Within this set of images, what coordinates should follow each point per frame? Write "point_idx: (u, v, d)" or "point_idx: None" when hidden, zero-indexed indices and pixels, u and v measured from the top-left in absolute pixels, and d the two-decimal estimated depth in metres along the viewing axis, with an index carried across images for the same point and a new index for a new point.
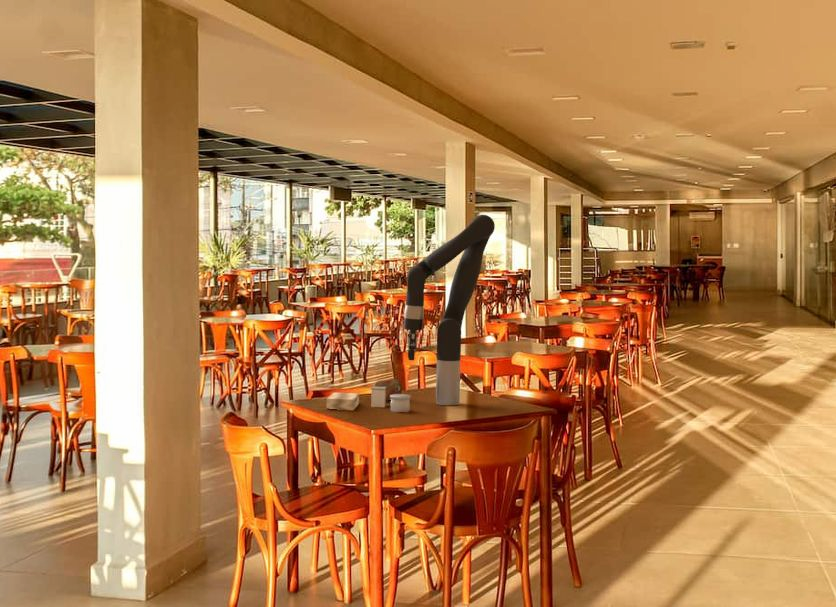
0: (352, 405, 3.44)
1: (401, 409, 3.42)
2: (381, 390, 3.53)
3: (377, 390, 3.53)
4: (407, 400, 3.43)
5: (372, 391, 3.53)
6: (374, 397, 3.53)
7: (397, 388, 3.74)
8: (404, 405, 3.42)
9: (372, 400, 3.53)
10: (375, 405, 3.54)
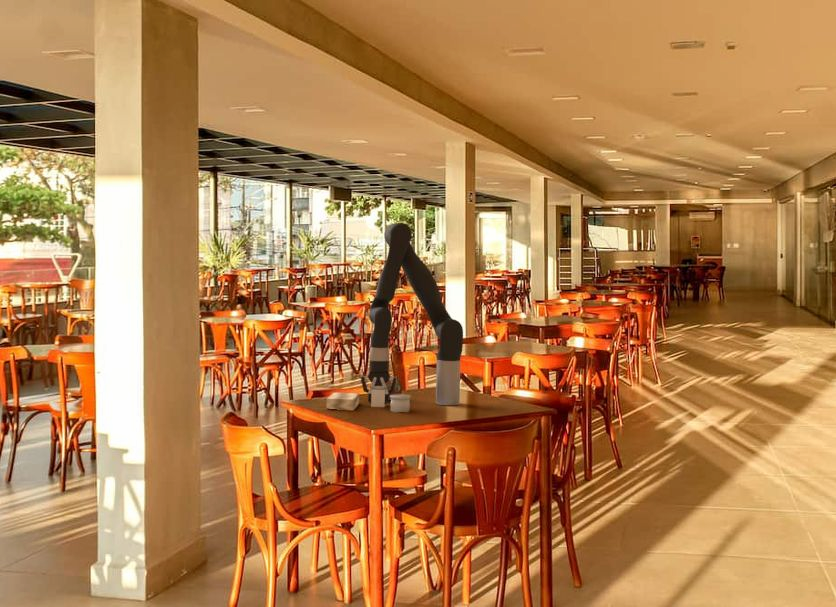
0: (352, 405, 3.44)
1: (401, 409, 3.42)
2: (381, 390, 3.53)
3: (377, 390, 3.53)
4: (407, 400, 3.43)
5: (372, 391, 3.53)
6: (374, 397, 3.53)
7: (397, 388, 3.74)
8: (404, 405, 3.42)
9: (372, 400, 3.54)
10: (375, 405, 3.54)
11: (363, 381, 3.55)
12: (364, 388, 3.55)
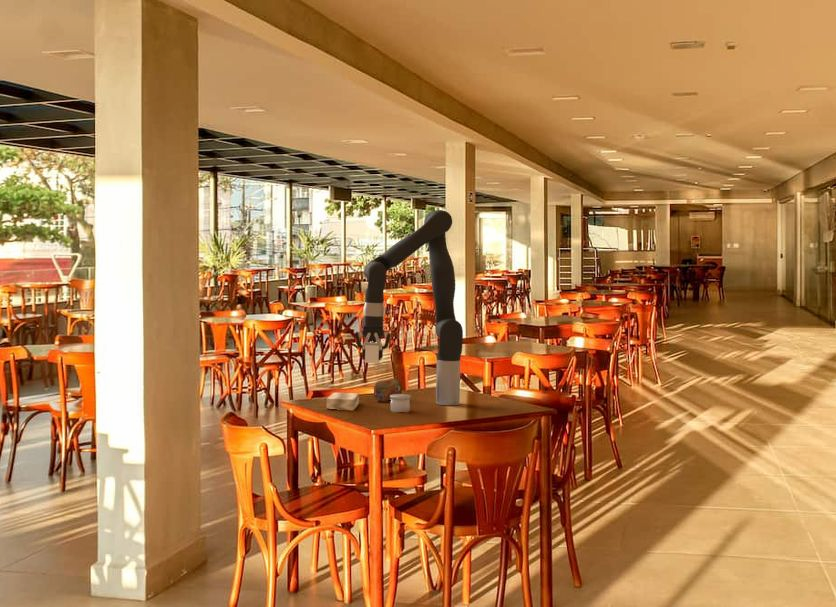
0: (352, 405, 3.44)
1: (401, 409, 3.42)
2: (375, 345, 3.52)
3: (371, 345, 3.52)
4: (407, 400, 3.43)
5: (366, 346, 3.52)
6: (368, 352, 3.52)
7: (397, 388, 3.74)
8: (404, 405, 3.42)
9: (366, 355, 3.52)
10: (369, 361, 3.52)
11: (357, 337, 3.53)
12: (358, 344, 3.53)
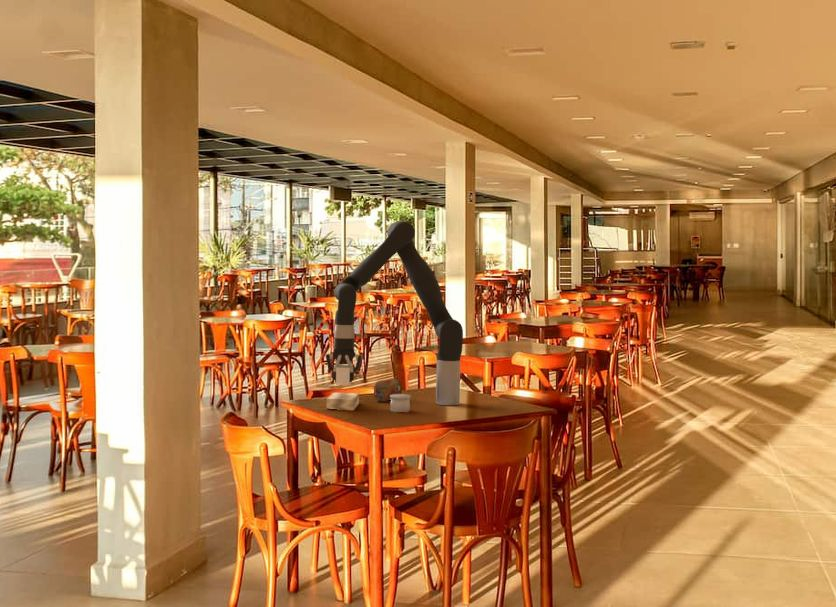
0: (352, 405, 3.44)
1: (401, 409, 3.42)
2: (346, 368, 3.49)
3: (342, 368, 3.49)
4: (407, 400, 3.43)
5: (337, 369, 3.50)
6: (339, 375, 3.50)
7: (397, 388, 3.74)
8: (404, 405, 3.42)
9: (337, 378, 3.50)
10: (340, 383, 3.50)
11: (328, 359, 3.51)
12: (329, 366, 3.51)
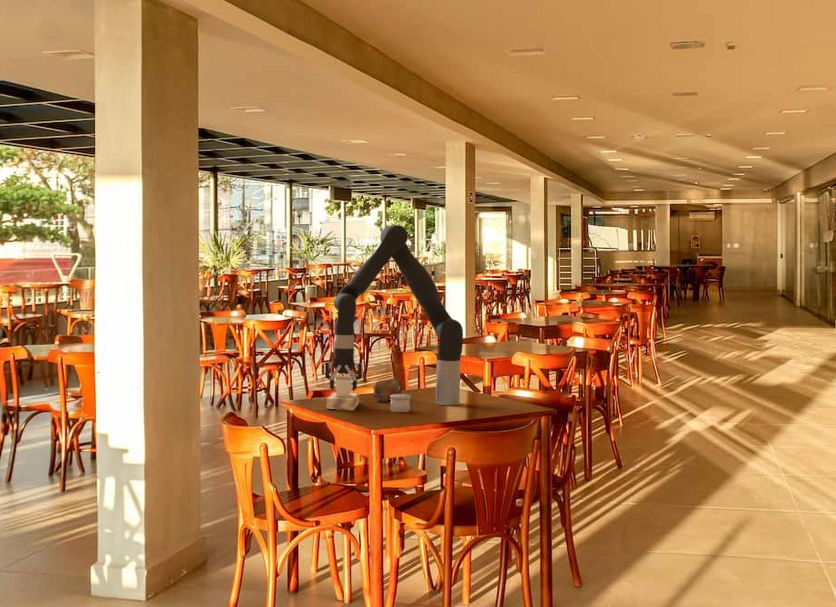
0: (352, 405, 3.44)
1: (401, 409, 3.42)
2: (346, 380, 3.50)
3: (342, 380, 3.50)
4: (407, 400, 3.43)
5: (337, 381, 3.50)
6: (339, 386, 3.50)
7: (397, 388, 3.74)
8: (404, 405, 3.42)
9: (337, 390, 3.50)
10: (340, 395, 3.50)
11: (327, 367, 3.51)
12: (326, 374, 3.51)
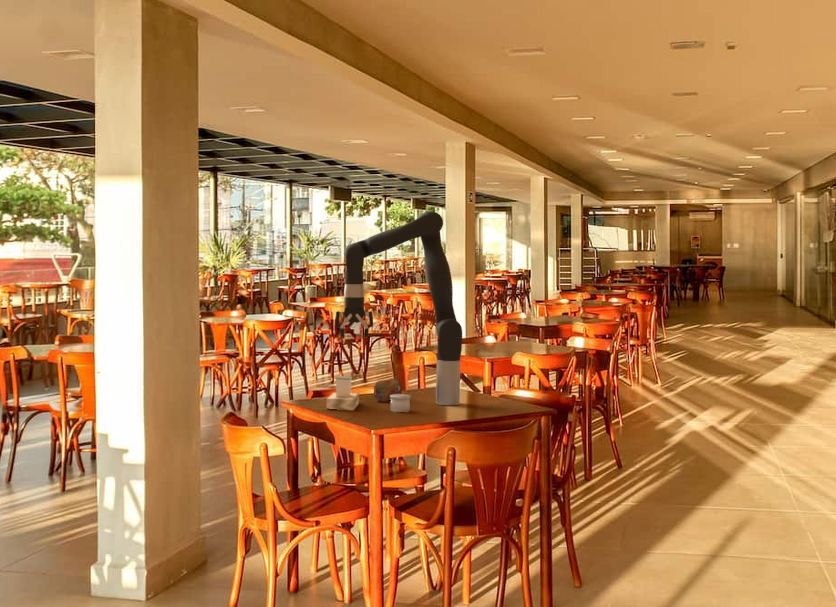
0: (352, 405, 3.44)
1: (401, 409, 3.42)
2: (346, 380, 3.50)
3: (342, 380, 3.50)
4: (407, 400, 3.43)
5: (337, 381, 3.50)
6: (339, 386, 3.50)
7: (397, 388, 3.74)
8: (404, 405, 3.42)
9: (337, 390, 3.50)
10: (340, 395, 3.50)
11: (337, 316, 3.56)
12: (336, 323, 3.57)
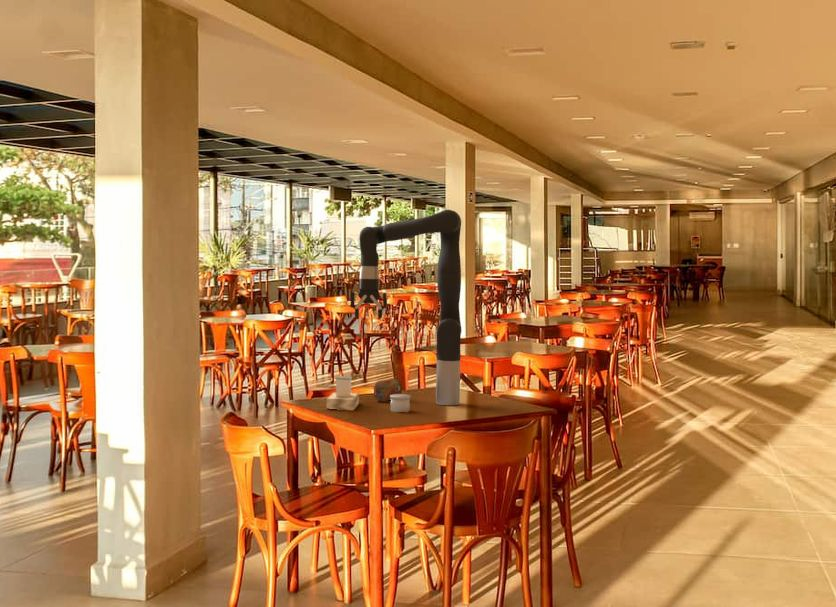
0: (352, 405, 3.44)
1: (401, 409, 3.42)
2: (346, 380, 3.50)
3: (342, 380, 3.50)
4: (407, 400, 3.43)
5: (337, 381, 3.50)
6: (339, 386, 3.50)
7: (397, 388, 3.74)
8: (404, 405, 3.42)
9: (337, 390, 3.50)
10: (340, 395, 3.50)
11: (352, 297, 3.67)
12: (351, 303, 3.68)
